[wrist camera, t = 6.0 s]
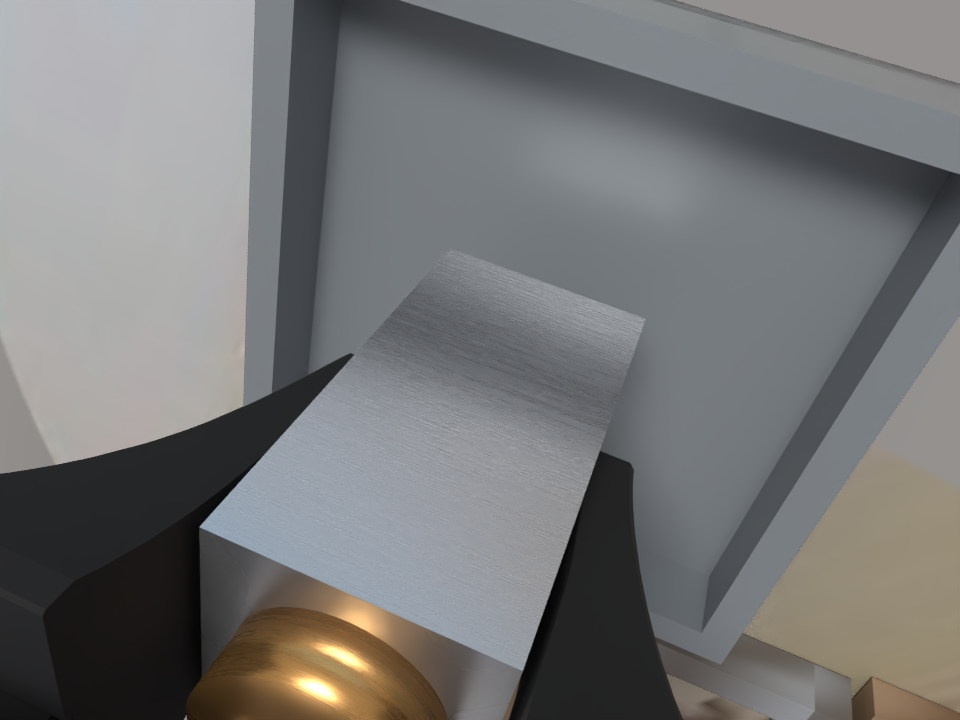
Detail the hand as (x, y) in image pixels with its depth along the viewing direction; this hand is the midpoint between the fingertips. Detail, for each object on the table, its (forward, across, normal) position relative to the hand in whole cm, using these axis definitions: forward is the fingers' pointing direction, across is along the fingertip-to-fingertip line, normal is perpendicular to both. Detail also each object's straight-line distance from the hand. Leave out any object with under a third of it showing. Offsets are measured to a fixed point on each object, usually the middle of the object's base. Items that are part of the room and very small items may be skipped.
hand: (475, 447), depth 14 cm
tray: (+6, 0, 0) cm, 6 cm away
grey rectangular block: (+3, 0, 0) cm, 3 cm away
